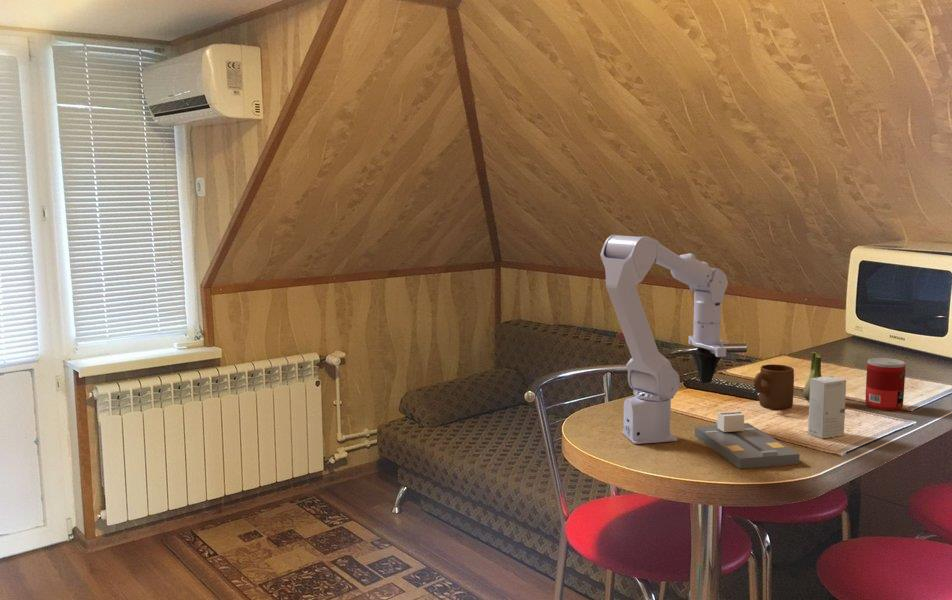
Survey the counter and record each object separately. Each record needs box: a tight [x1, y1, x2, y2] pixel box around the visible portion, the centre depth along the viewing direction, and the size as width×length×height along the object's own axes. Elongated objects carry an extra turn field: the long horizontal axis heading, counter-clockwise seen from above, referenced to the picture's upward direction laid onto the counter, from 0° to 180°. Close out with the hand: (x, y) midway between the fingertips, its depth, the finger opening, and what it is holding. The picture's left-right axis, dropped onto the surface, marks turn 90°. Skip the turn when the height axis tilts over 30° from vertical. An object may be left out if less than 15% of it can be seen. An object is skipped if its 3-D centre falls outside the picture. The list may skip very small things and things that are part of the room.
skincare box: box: [807, 375, 847, 439], centre depth 166 cm, size 6×4×12 cm
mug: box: [753, 363, 795, 411], centre depth 186 cm, size 12×8×9 cm, turn 124°
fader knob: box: [716, 410, 745, 432], centre depth 164 cm, size 4×3×4 cm
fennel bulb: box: [802, 351, 823, 402], centre depth 191 cm, size 6×5×12 cm
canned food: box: [864, 357, 907, 412], centre depth 185 cm, size 8×8×11 cm
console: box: [694, 421, 800, 470], centre depth 159 cm, size 12×20×3 cm, turn 9°
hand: (705, 382), depth 175 cm, fingers closed
